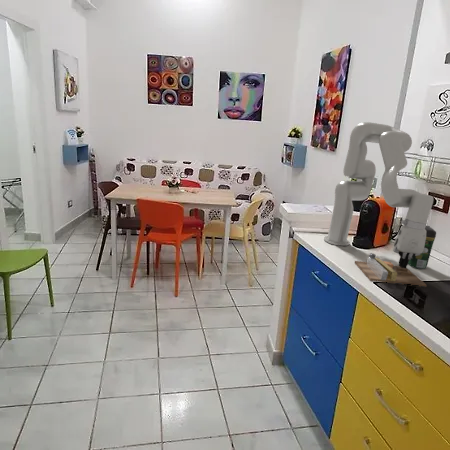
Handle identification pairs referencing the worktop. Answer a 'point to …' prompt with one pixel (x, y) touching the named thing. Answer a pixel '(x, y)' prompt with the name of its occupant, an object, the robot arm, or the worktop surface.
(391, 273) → the tong jaw
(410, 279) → the board
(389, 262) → the lock tab
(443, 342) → the worktop surface
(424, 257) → the coffee jar
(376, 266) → the tongs base
